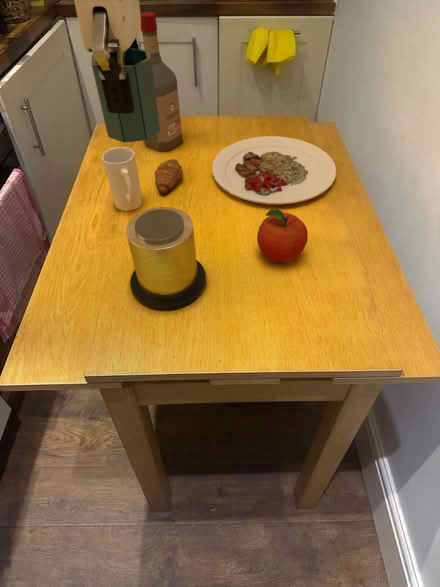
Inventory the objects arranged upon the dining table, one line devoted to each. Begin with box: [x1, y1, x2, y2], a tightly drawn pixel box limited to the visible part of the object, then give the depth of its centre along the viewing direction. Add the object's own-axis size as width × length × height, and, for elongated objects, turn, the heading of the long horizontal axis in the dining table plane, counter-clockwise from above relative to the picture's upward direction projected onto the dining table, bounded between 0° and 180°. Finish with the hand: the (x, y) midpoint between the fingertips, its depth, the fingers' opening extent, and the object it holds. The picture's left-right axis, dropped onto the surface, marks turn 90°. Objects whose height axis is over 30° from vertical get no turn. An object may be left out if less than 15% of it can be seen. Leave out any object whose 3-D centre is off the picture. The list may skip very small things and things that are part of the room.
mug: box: [101, 146, 143, 212], centre depth 88 cm, size 10×7×12 cm, turn 23°
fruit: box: [256, 208, 309, 264], centre depth 77 cm, size 10×10×10 cm
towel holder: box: [125, 206, 207, 312], centre depth 71 cm, size 14×14×14 cm
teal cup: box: [91, 47, 160, 143], centre depth 52 cm, size 7×7×9 cm
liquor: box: [140, 11, 183, 153], centre depth 101 cm, size 9×9×30 cm
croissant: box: [154, 158, 183, 196], centre depth 97 cm, size 14×7×5 cm, turn 172°
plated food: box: [211, 135, 337, 205], centre depth 99 cm, size 30×30×3 cm
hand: (128, 97), depth 53 cm, fingers closed on teal cup, 7 cm apart
